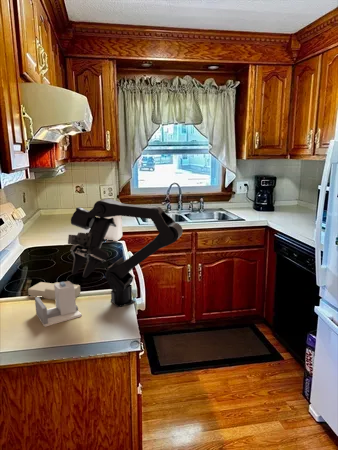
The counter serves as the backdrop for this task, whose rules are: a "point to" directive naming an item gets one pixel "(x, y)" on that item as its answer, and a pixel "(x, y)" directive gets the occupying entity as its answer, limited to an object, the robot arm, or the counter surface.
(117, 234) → the pale rounded upright block
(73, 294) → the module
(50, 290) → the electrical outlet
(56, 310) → the board
